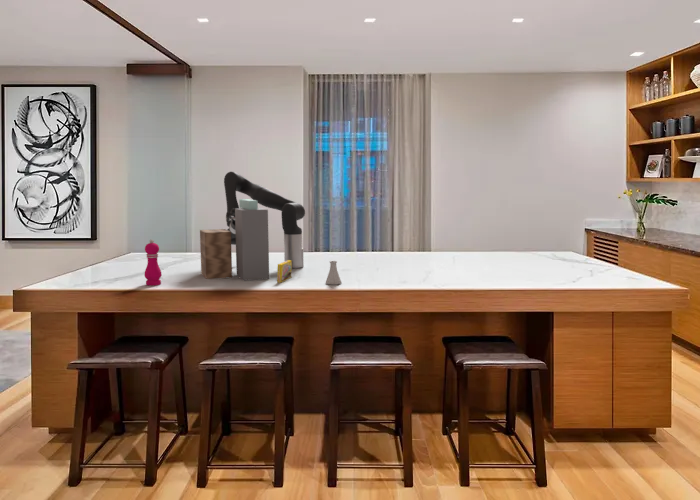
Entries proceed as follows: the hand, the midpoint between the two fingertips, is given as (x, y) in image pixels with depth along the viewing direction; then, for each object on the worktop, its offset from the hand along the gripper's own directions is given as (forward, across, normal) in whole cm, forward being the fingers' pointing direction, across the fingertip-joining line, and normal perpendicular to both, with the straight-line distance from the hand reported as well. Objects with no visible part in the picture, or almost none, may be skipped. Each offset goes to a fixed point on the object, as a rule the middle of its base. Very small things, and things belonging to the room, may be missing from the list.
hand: (242, 209), depth 322 cm
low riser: (-9, -15, +30) cm, 35 cm away
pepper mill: (+4, -45, +38) cm, 59 cm away
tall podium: (+1, 0, +36) cm, 36 cm away
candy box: (+12, +12, +43) cm, 46 cm away
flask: (+29, +29, +53) cm, 67 cm away
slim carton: (+12, 0, +6) cm, 13 cm away
